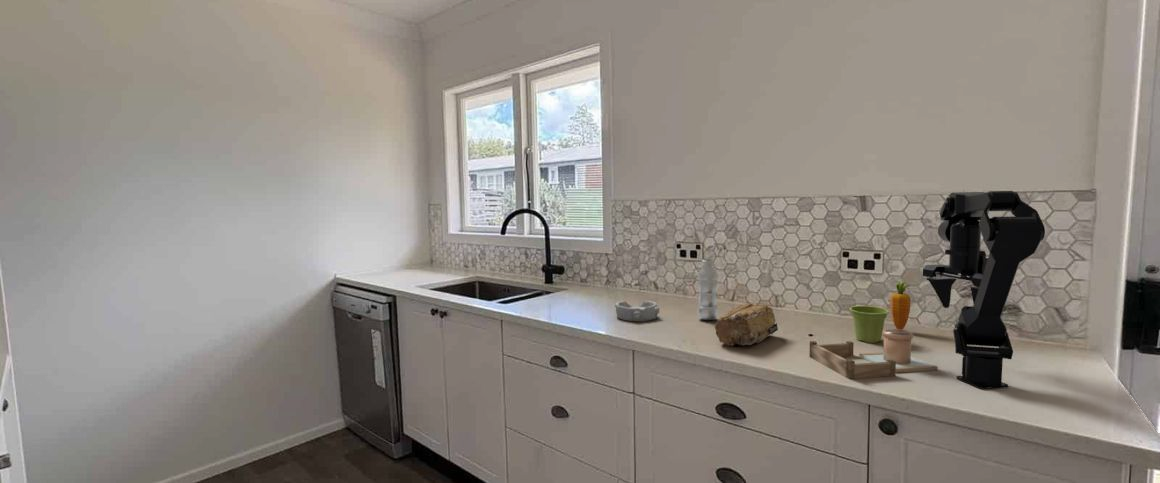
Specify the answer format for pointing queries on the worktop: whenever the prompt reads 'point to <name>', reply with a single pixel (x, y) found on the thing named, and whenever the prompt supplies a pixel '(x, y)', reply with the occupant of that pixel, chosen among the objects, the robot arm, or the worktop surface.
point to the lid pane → (913, 366)
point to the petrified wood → (746, 325)
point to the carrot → (900, 306)
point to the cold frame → (849, 361)
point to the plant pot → (868, 322)
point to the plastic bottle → (707, 291)
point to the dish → (637, 311)
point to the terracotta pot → (897, 345)
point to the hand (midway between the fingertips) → (962, 311)
